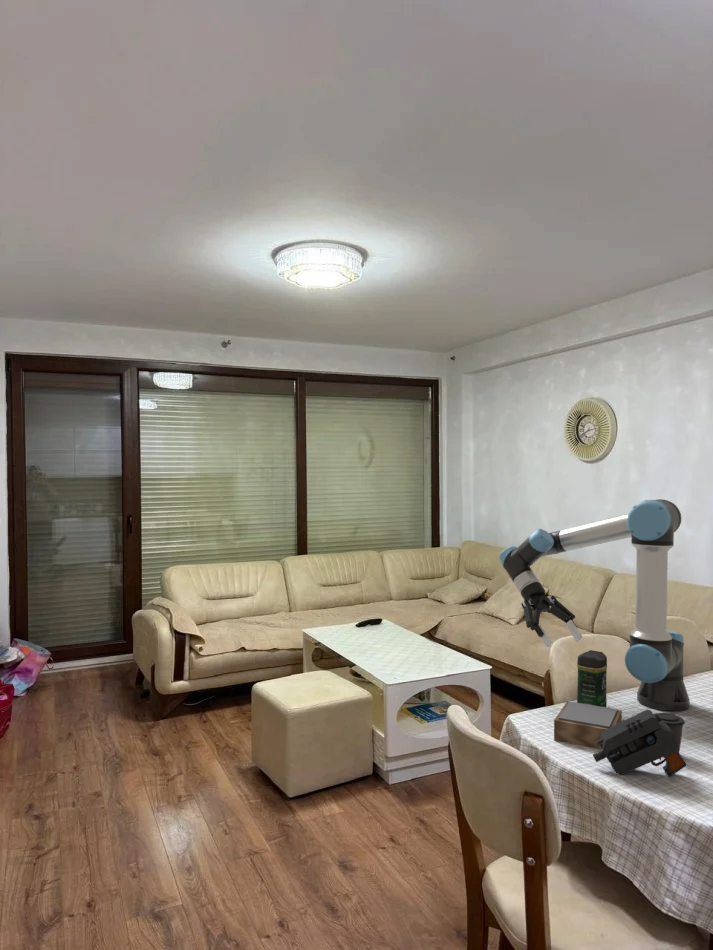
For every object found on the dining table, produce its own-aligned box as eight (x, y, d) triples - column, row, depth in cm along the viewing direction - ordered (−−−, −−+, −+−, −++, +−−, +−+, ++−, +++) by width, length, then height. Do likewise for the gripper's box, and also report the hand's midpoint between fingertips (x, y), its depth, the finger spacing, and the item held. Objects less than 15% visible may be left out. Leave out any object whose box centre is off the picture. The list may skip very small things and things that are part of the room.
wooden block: (621, 730, 185) (621, 708, 185) (612, 751, 171) (612, 728, 171) (566, 720, 193) (566, 699, 193) (554, 740, 178) (554, 718, 178)
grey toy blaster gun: (694, 769, 153) (660, 711, 155) (619, 803, 157) (586, 746, 158) (687, 759, 159) (654, 703, 161) (614, 791, 163) (583, 736, 164)
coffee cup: (684, 750, 171) (684, 712, 171) (685, 763, 164) (685, 722, 164) (650, 745, 175) (650, 707, 175) (650, 757, 167) (650, 718, 167)
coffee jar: (600, 721, 192) (600, 657, 192) (573, 715, 197) (573, 653, 197) (610, 712, 200) (610, 651, 200) (584, 706, 205) (584, 646, 205)
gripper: (549, 591, 229) (584, 643, 216) (496, 597, 216) (530, 653, 203) (561, 578, 224) (598, 630, 212) (508, 583, 212) (543, 640, 199)
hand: (564, 642), depth 207 cm, fingers open, 13 cm apart
